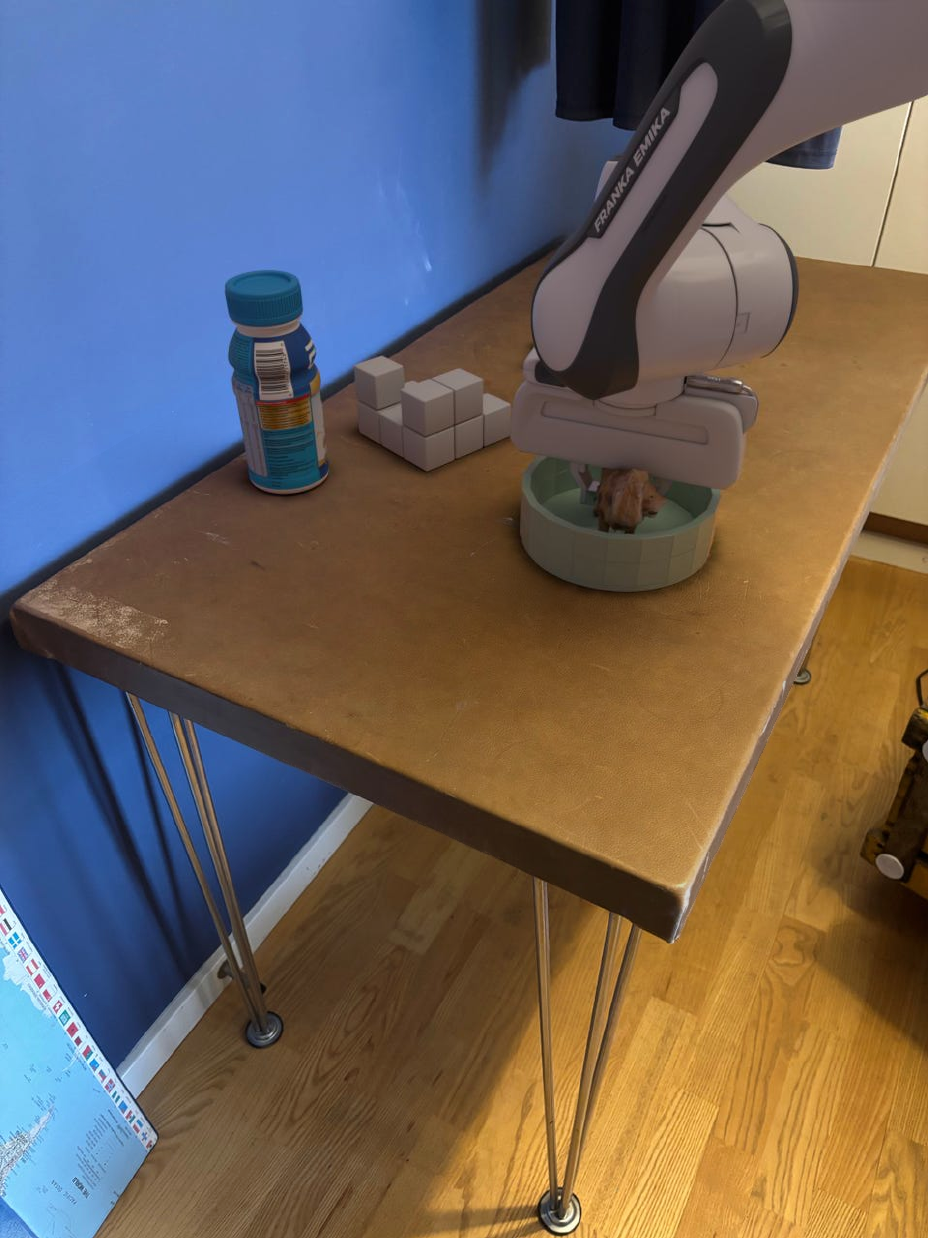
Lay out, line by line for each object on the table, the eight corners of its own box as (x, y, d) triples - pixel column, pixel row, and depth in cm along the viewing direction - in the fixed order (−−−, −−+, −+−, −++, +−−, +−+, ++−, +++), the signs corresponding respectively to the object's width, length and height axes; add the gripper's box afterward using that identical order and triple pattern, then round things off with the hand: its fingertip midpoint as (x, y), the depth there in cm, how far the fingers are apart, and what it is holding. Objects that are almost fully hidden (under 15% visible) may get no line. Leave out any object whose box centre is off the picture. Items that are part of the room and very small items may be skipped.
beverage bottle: (231, 483, 93) (193, 287, 81) (284, 449, 99) (256, 260, 86) (296, 505, 90) (267, 303, 77) (347, 468, 95) (328, 274, 83)
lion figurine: (661, 572, 79) (673, 482, 73) (600, 576, 79) (607, 486, 73) (630, 486, 90) (638, 402, 85) (577, 489, 90) (581, 405, 85)
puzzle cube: (510, 436, 101) (512, 367, 96) (426, 472, 95) (424, 401, 90) (441, 400, 108) (439, 335, 103) (358, 432, 102) (352, 364, 97)
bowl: (726, 508, 89) (736, 457, 85) (687, 611, 76) (697, 557, 73) (555, 473, 94) (557, 425, 91) (492, 565, 82) (492, 512, 78)
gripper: (769, 367, 74) (738, 513, 82) (530, 332, 80) (525, 471, 89) (757, 399, 69) (725, 550, 78) (505, 359, 75) (502, 502, 84)
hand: (617, 507), depth 83 cm, fingers closed on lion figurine, 4 cm apart
